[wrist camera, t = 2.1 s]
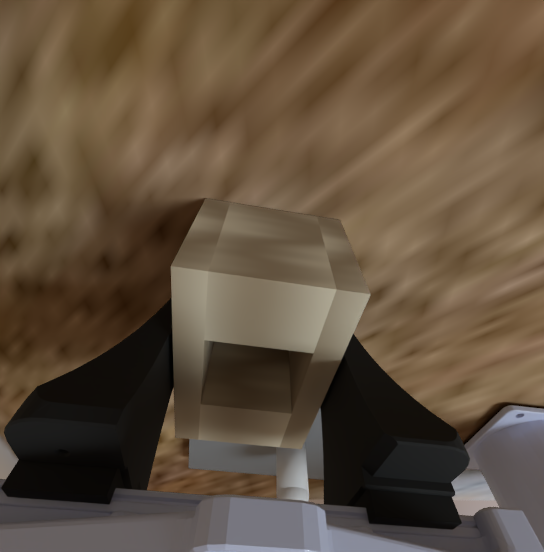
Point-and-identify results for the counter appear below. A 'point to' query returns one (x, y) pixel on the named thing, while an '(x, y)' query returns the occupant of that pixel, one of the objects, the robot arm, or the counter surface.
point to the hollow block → (260, 322)
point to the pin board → (266, 461)
